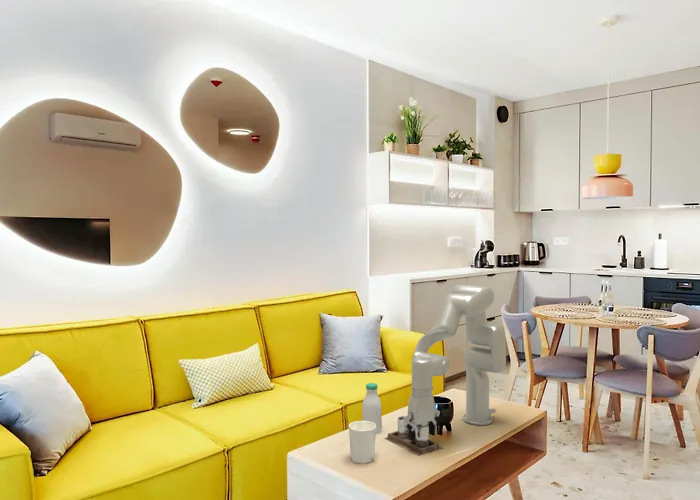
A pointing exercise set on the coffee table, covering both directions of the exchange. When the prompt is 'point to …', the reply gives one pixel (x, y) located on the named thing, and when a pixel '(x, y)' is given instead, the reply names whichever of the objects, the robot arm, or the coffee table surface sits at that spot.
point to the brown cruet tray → (412, 444)
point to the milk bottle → (372, 407)
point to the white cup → (362, 441)
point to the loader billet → (402, 428)
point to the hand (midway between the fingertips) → (421, 437)
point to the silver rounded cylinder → (422, 435)
